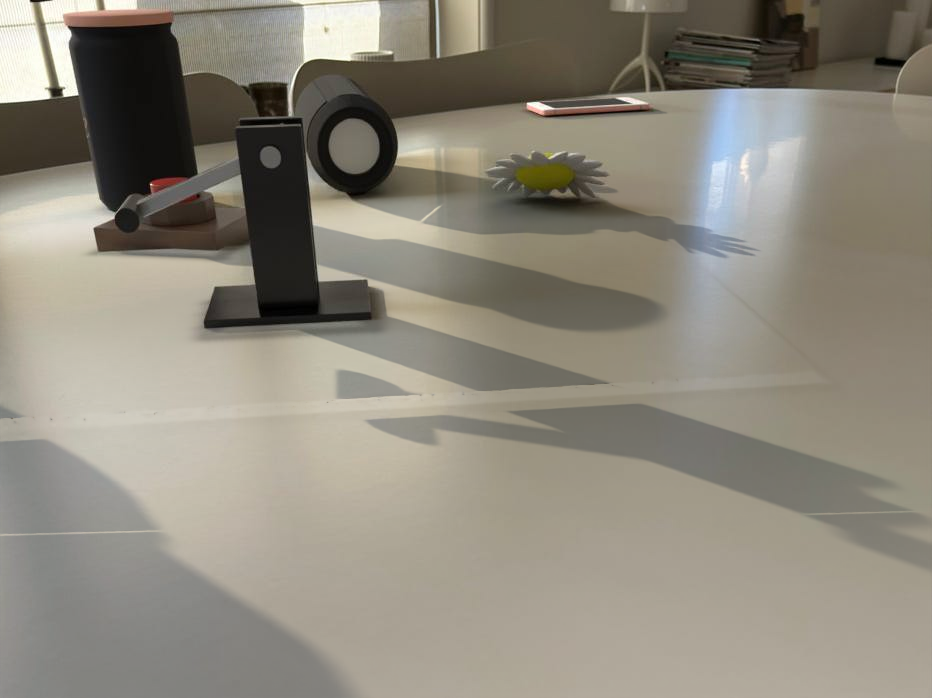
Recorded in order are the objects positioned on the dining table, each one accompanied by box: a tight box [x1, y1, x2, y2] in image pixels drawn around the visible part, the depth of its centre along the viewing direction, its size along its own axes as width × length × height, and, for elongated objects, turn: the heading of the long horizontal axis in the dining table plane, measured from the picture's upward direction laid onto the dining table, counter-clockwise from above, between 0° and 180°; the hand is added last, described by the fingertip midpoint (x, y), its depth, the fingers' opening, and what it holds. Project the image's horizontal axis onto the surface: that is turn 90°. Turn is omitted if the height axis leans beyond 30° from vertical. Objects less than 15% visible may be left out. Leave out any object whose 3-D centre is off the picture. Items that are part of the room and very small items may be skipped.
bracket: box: [203, 115, 373, 329], centre depth 77 cm, size 12×9×13 cm
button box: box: [92, 190, 249, 253], centre depth 99 cm, size 12×10×4 cm
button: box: [150, 178, 197, 202], centre depth 98 cm, size 4×4×2 cm
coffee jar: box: [62, 8, 199, 213], centre depth 110 cm, size 11×11×18 cm
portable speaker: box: [294, 73, 399, 195], centre depth 123 cm, size 26×10×10 cm, turn 12°
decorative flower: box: [484, 150, 610, 199], centre depth 117 cm, size 13×5×30 cm
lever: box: [113, 123, 284, 233], centre depth 75 cm, size 13×5×2 cm, turn 97°
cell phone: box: [526, 96, 650, 116], centre depth 170 cm, size 9×18×1 cm, turn 106°
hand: (128, 0), depth 81 cm, fingers open, 13 cm apart
